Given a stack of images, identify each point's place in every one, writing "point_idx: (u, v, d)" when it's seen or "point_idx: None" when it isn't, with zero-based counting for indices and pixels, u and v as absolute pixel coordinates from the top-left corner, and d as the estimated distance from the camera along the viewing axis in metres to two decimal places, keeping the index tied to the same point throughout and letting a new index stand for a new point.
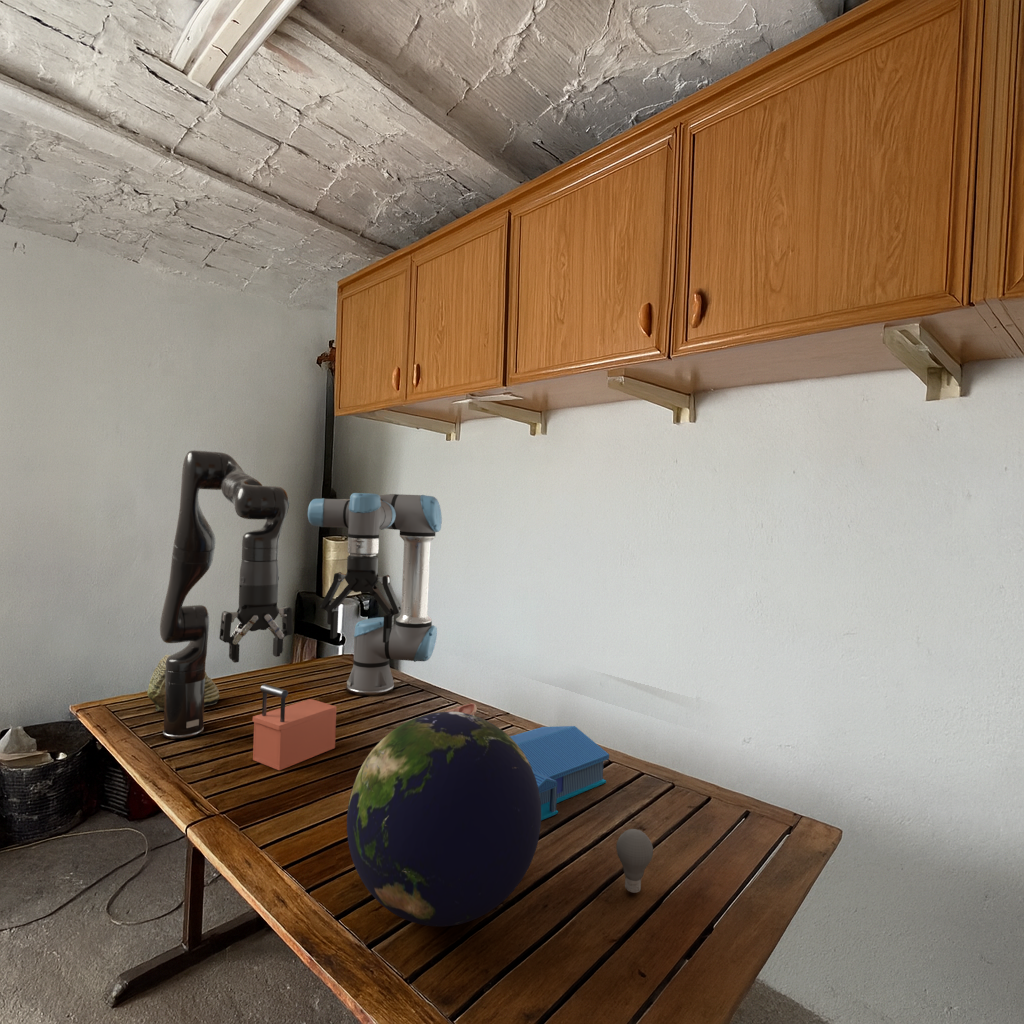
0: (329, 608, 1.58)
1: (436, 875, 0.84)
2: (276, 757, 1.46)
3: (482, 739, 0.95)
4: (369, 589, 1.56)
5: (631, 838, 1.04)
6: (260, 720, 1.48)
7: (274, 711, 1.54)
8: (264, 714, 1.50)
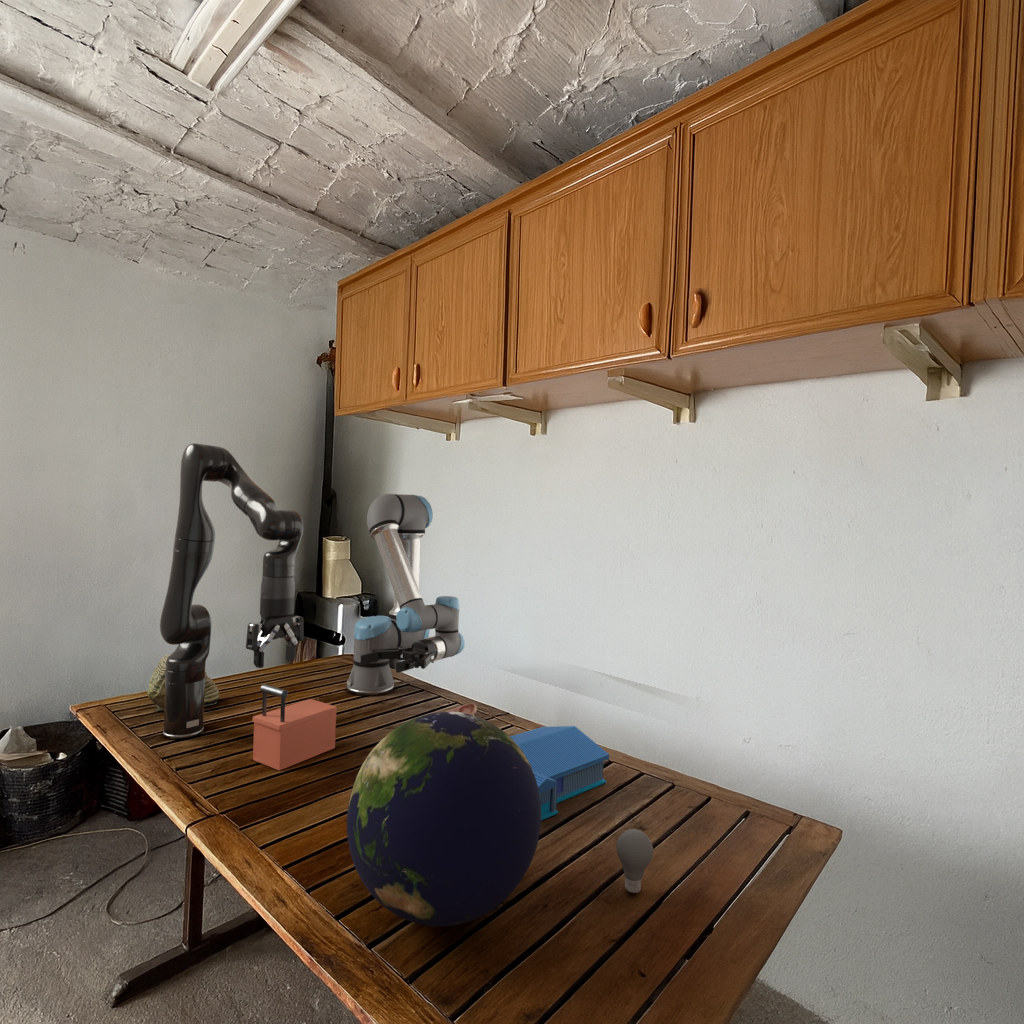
0: None
1: (436, 875, 0.84)
2: (276, 757, 1.46)
3: (482, 739, 0.95)
4: None
5: (631, 838, 1.04)
6: (260, 720, 1.48)
7: (274, 711, 1.54)
8: (264, 714, 1.50)
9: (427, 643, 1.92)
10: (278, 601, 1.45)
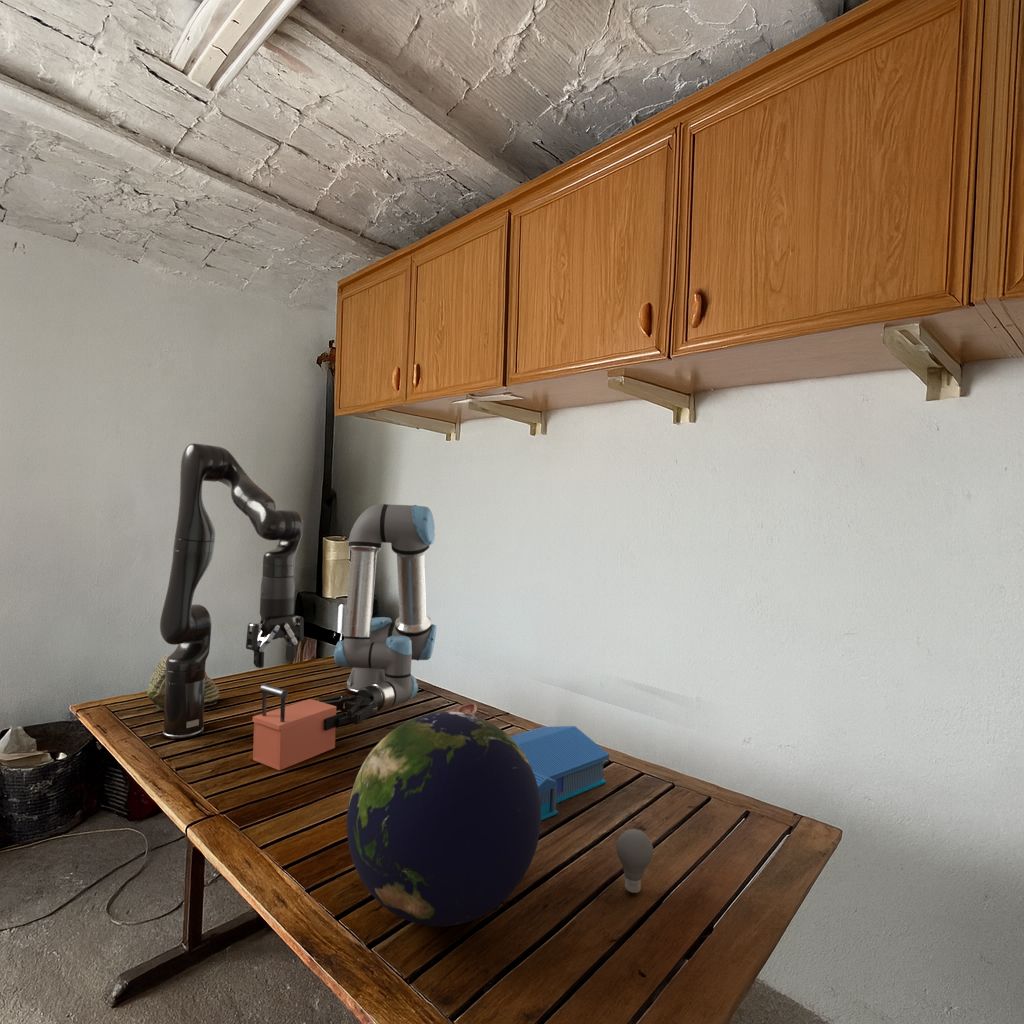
0: None
1: (436, 875, 0.84)
2: (276, 757, 1.46)
3: (482, 739, 0.95)
4: None
5: (631, 838, 1.04)
6: (260, 720, 1.48)
7: (274, 711, 1.54)
8: (264, 714, 1.50)
9: (373, 692, 1.74)
10: (278, 601, 1.45)
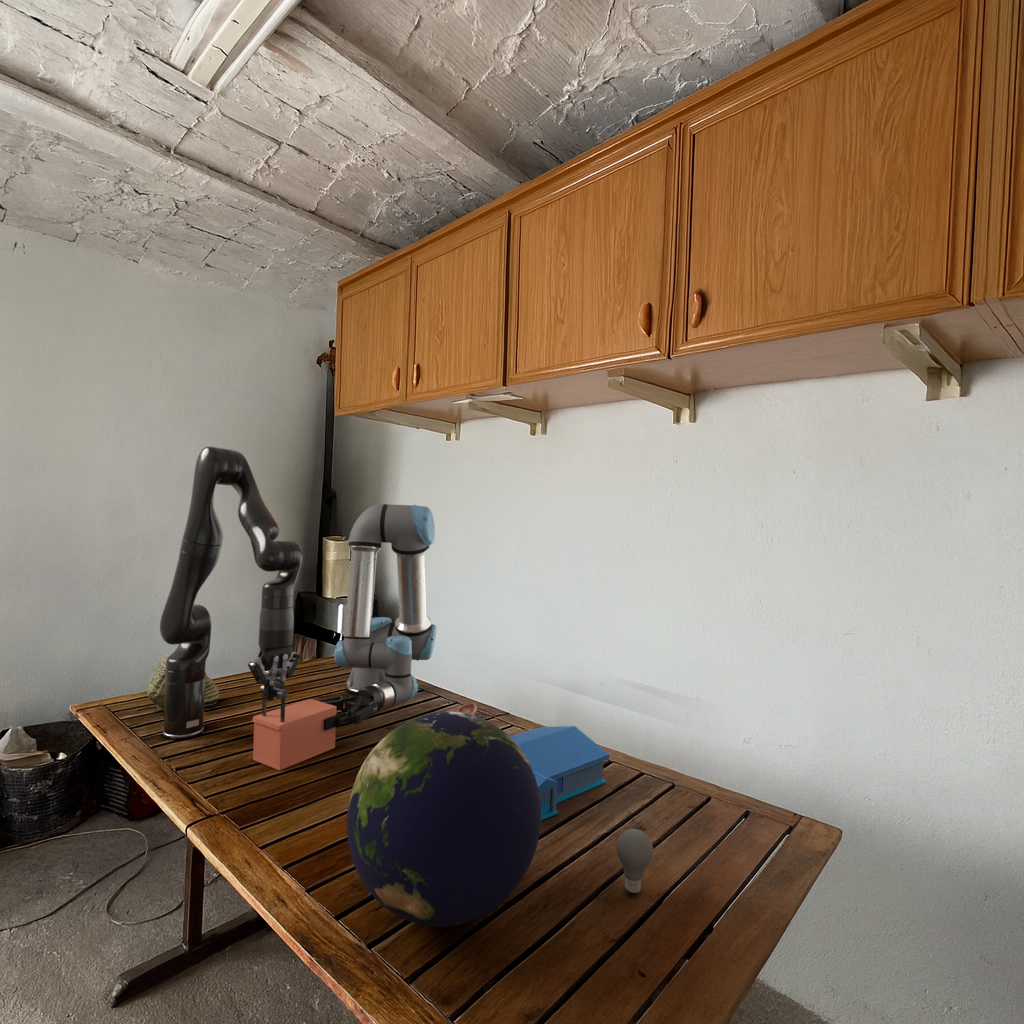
0: None
1: (436, 875, 0.84)
2: (276, 757, 1.46)
3: (482, 739, 0.95)
4: None
5: (631, 838, 1.04)
6: (260, 720, 1.48)
7: (274, 711, 1.54)
8: (264, 714, 1.50)
9: (373, 692, 1.74)
10: (277, 632, 1.45)
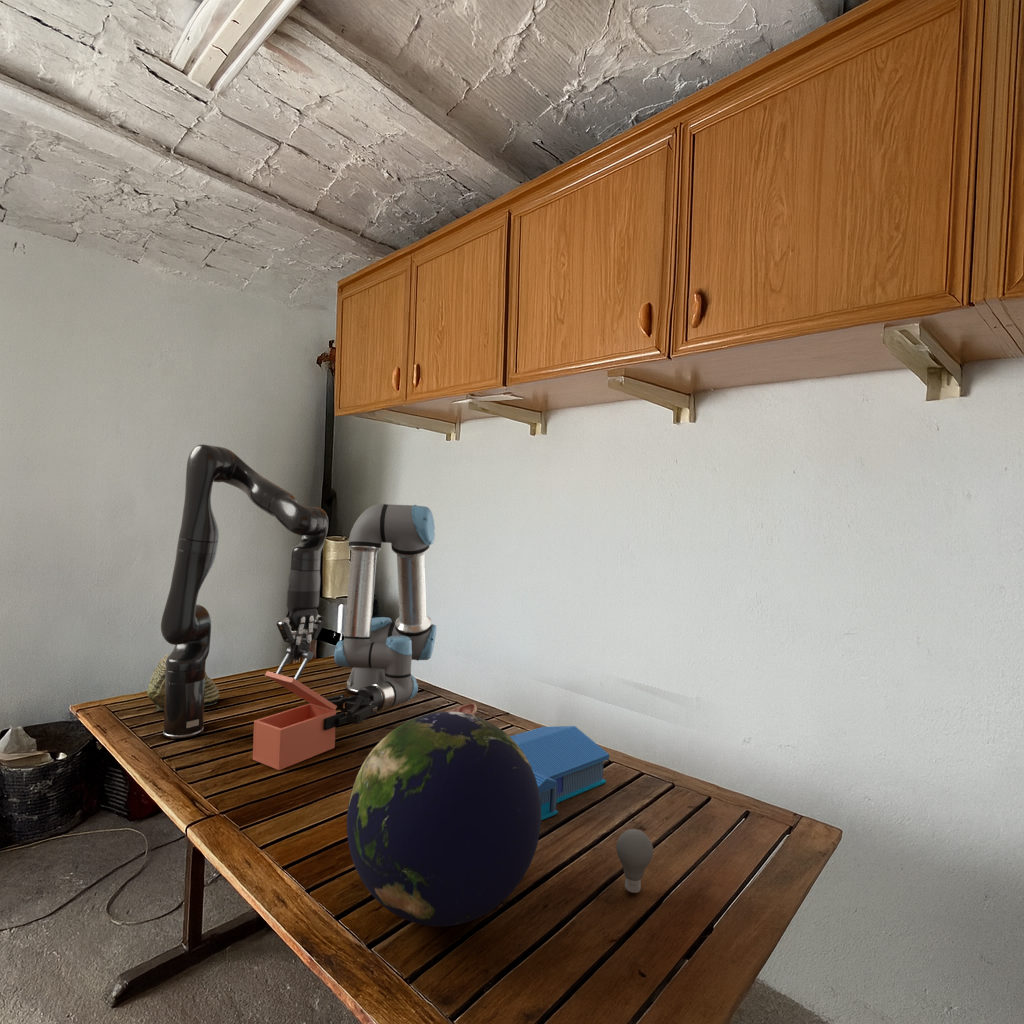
0: None
1: (436, 875, 0.84)
2: (276, 756, 1.46)
3: (482, 739, 0.95)
4: None
5: (631, 838, 1.04)
6: (274, 674, 1.51)
7: None
8: (278, 674, 1.53)
9: (373, 692, 1.74)
10: (305, 593, 1.52)
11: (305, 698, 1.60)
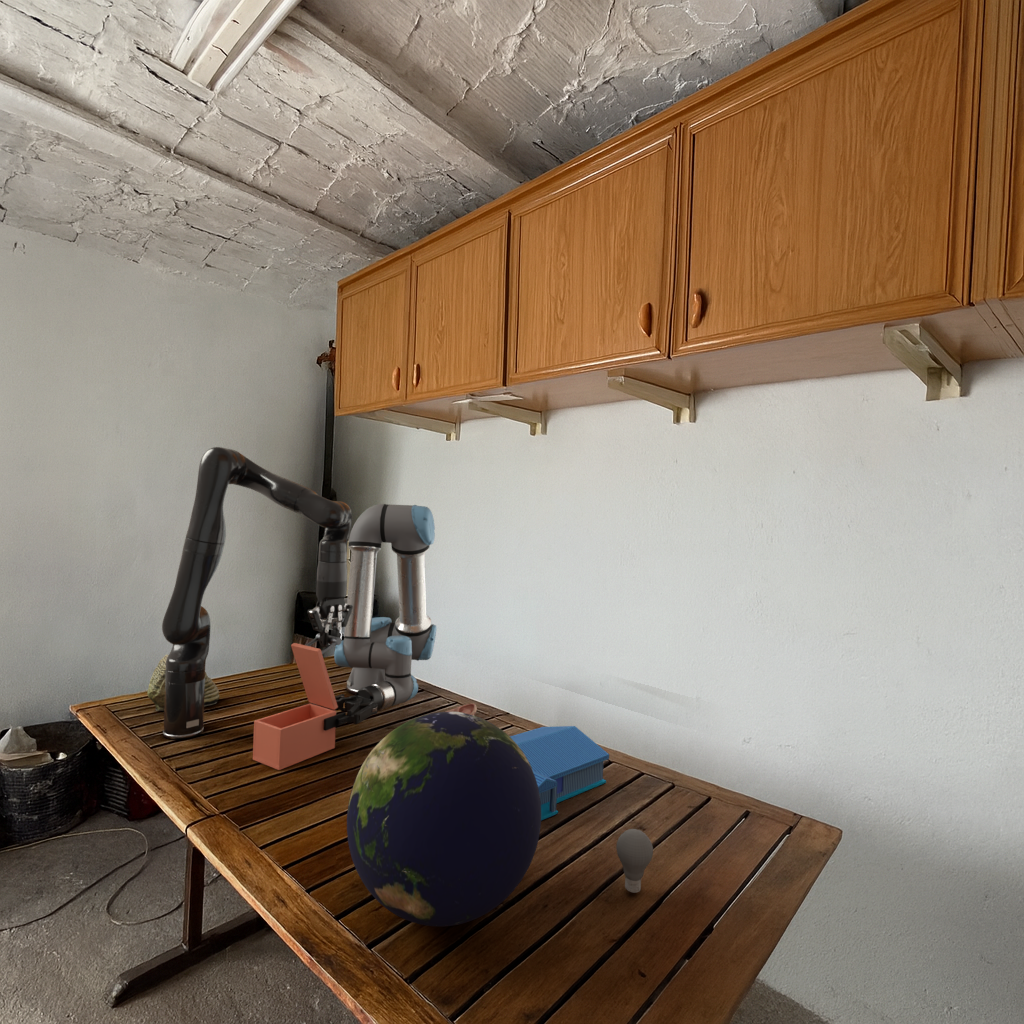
0: None
1: (436, 875, 0.84)
2: (276, 756, 1.46)
3: (482, 739, 0.95)
4: None
5: (631, 838, 1.04)
6: (301, 645, 1.58)
7: None
8: None
9: (373, 692, 1.74)
10: (334, 584, 1.59)
11: (310, 690, 1.62)
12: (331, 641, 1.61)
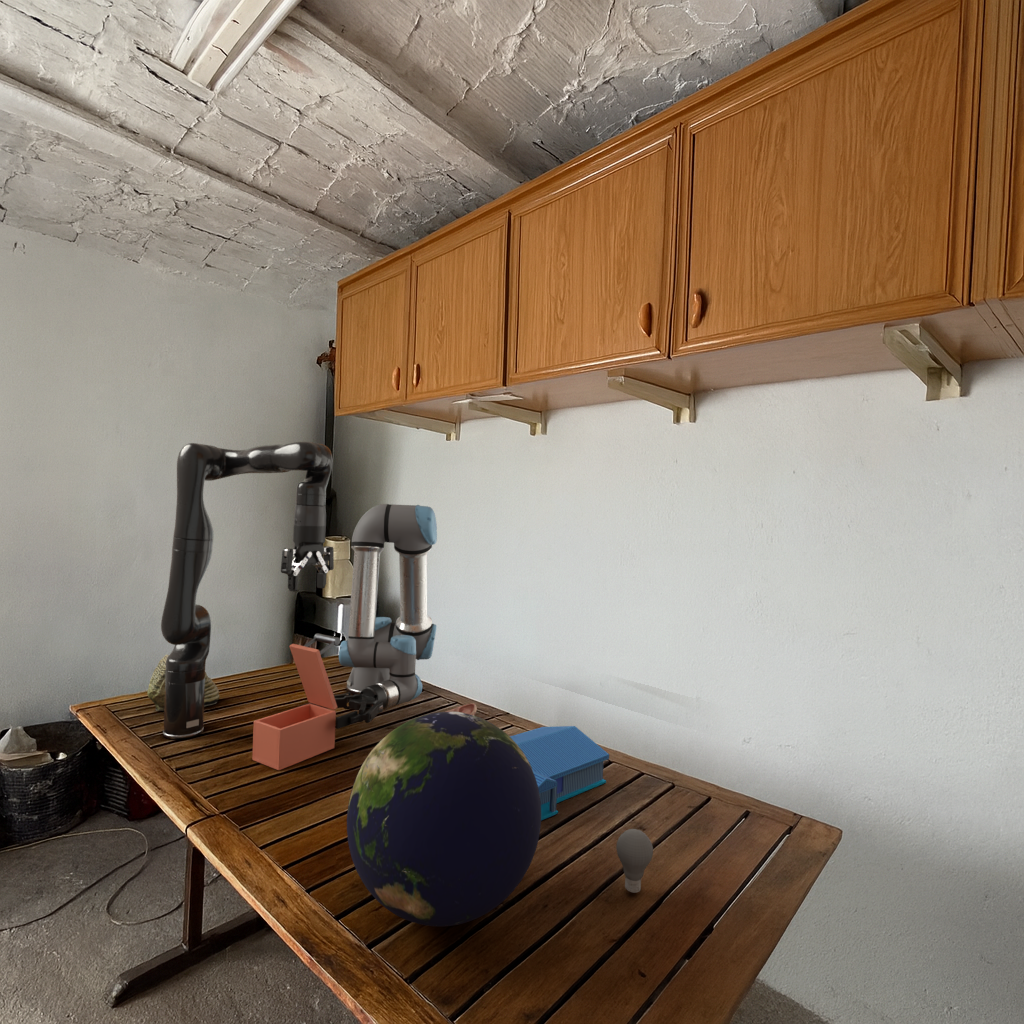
0: None
1: (436, 875, 0.84)
2: (275, 757, 1.46)
3: (482, 739, 0.95)
4: None
5: (631, 838, 1.04)
6: (299, 646, 1.57)
7: None
8: None
9: (377, 691, 1.75)
10: (311, 528, 1.52)
11: (310, 691, 1.61)
12: (330, 641, 1.60)
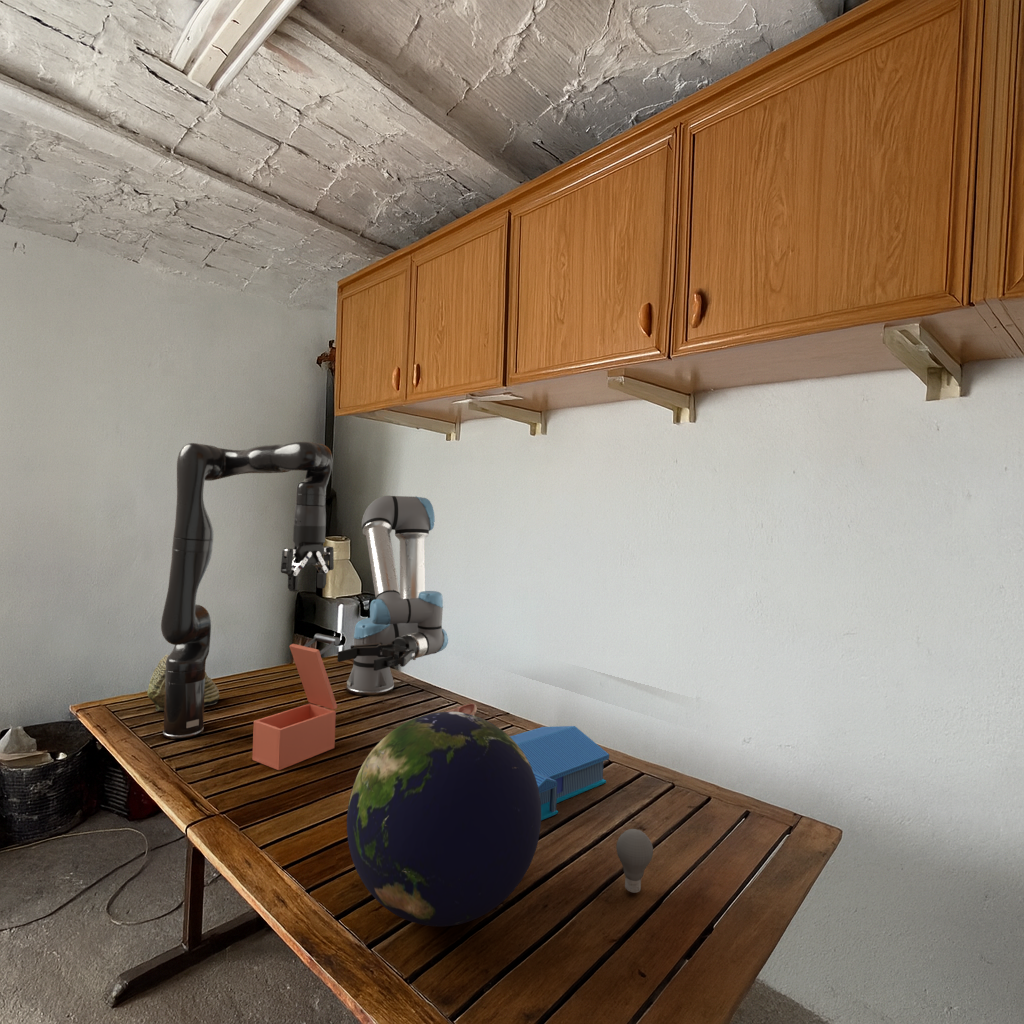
0: None
1: (436, 875, 0.84)
2: (275, 757, 1.46)
3: (482, 739, 0.95)
4: None
5: (631, 838, 1.04)
6: (299, 646, 1.57)
7: None
8: None
9: (408, 640, 1.85)
10: (311, 528, 1.52)
11: (310, 691, 1.61)
12: (330, 641, 1.60)
